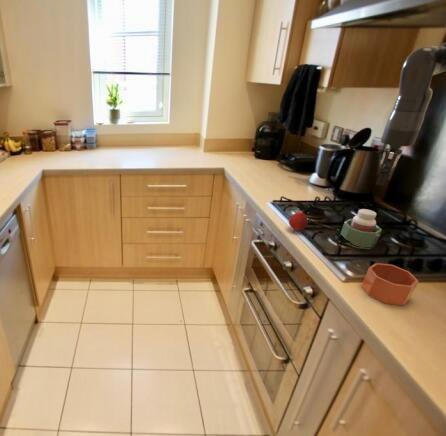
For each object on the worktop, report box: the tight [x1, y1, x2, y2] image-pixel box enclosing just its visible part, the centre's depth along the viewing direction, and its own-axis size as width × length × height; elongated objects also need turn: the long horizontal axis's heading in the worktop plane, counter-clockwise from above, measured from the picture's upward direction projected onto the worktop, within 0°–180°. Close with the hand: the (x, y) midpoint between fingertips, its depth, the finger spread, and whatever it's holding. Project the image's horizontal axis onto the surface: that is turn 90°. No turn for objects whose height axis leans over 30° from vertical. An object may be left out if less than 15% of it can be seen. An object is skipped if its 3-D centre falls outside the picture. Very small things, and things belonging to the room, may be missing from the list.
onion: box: [288, 210, 309, 232], centre depth 112 cm, size 6×6×8 cm
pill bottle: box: [350, 208, 377, 232], centre depth 104 cm, size 6×6×11 cm
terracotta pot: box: [361, 262, 420, 306], centre depth 83 cm, size 9×9×6 cm
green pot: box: [339, 218, 383, 250], centre depth 105 cm, size 9×9×6 cm
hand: (382, 181), depth 96 cm, fingers open, 8 cm apart
